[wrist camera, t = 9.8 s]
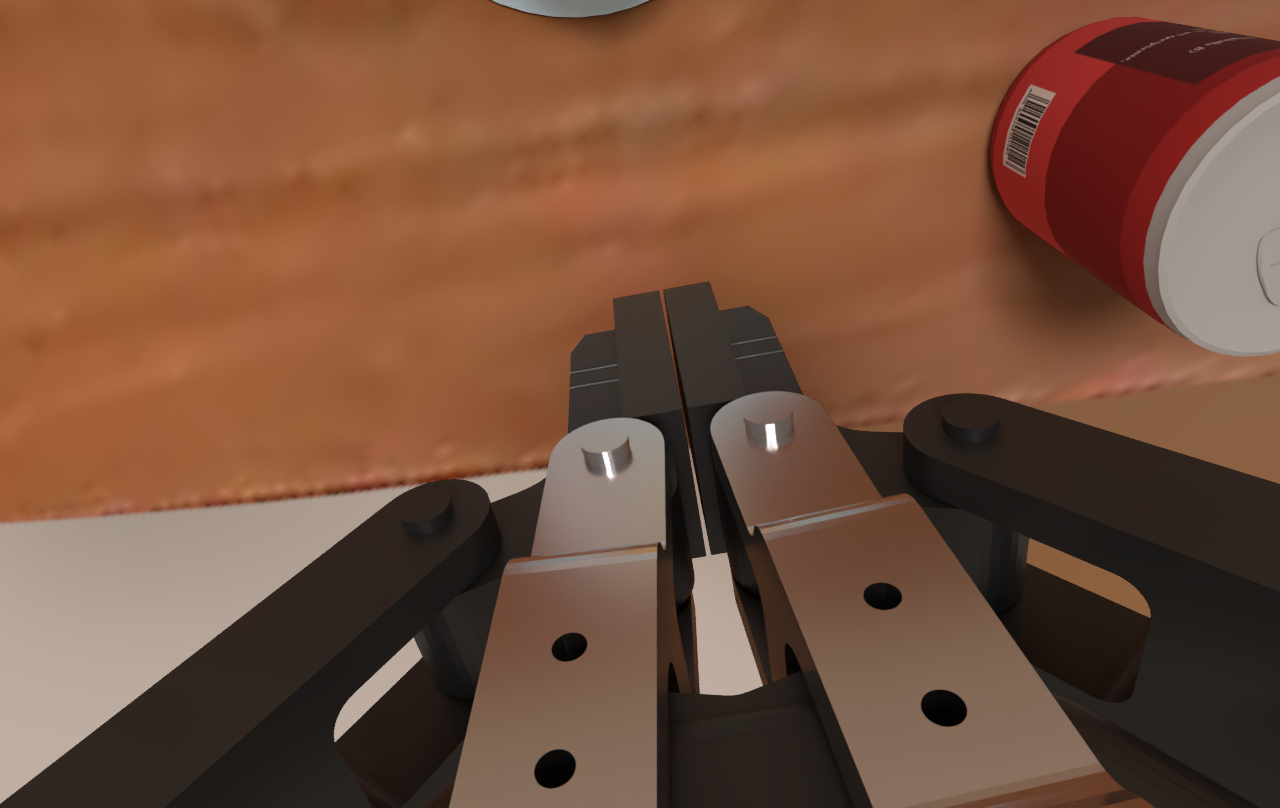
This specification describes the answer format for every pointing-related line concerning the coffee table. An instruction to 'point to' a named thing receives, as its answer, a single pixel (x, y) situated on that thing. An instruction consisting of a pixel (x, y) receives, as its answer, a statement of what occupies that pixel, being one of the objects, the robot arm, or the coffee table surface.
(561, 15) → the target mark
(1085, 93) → the canned food
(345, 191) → the coffee table surface
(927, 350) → the coffee table surface
